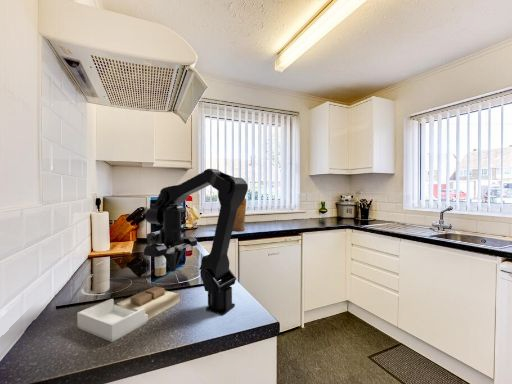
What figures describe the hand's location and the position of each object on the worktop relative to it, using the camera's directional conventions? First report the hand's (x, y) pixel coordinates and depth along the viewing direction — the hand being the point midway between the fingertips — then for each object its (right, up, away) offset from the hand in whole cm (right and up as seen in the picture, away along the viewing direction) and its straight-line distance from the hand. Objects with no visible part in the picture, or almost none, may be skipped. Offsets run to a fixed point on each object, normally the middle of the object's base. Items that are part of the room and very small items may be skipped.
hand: (172, 271), depth 85 cm
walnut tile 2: (-3, -6, -7) cm, 9 cm away
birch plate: (-4, -8, -8) cm, 12 cm away
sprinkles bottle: (-12, -8, +21) cm, 25 cm away
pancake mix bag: (+10, -7, +130) cm, 131 cm away
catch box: (-10, -8, -19) cm, 22 cm away
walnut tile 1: (-6, -6, -11) cm, 14 cm away
